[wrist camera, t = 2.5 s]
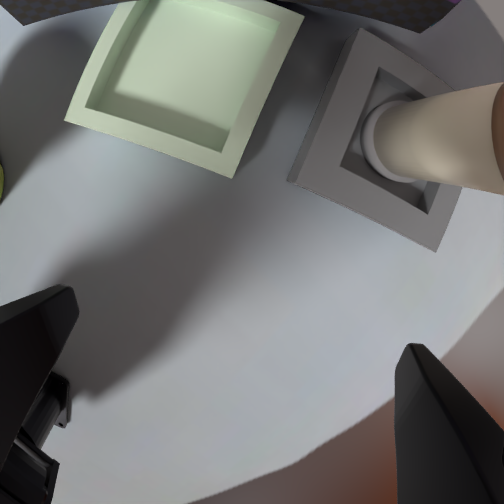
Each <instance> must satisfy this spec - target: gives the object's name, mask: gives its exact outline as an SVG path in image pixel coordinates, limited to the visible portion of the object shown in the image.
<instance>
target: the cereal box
mask: <svg viewBox="0 0 504 504" xmlns="http://www.w3.org/2000/svg"><path fill="white" fill-rule="evenodd" d="M130 1H138V0H0V5H1V6H2V7H3V8H4V9H6V10H7V11H8V12H9V13H10V14H11V15H12V16H13V17H14V18H15V19H17V20H18V21H19V22H20V23H21V24H22V25H23V26H25V25H28V24H31V23H34V22H37V21H41V20H44V19H48V18H51V17H55V16H58V15H62V14H66V13H70V12H75V11H79V10H83V9H88V8H93V7H98V6H104V5H110V4H116V3H123V2H130ZM279 1H287V2H295V3H302V4H308V5H314V6H319V7H325V8H330V9H335V10H340V11H344V12H348V13H353V14H357V15H361V16H365V17H368V18H372V19H376V20H379V21H383V22H386V23H389V24H393V25H396V26H399V27H402V28H405V29H408V30H411V31H414V32H416V33H419V34H420V33H422V32H423V31H424V30H426V29H427V28H429V27H430V26H432V25H434V24H435V23H437V22H438V21H439V20H441V19H442V18H443V17H444V16H445V15H446V14H447V13H448V12H449V11H451V10H452V9H453V8H454V7H455V6H456V5H457V4H458V3H459V2H460V1H461V0H279Z"/></svg>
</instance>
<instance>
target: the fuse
mask: <svg viewBox="0 0 504 504" xmlns="http://www.w3.org/2000/svg"><path fill="white" fill-rule="evenodd" d="M360 145H361V150H362V153H363V156H364V158H365V160H366V162H367V163H368V165H369V166H370V168H371V169H372V170H373V171H374V172H375V173H377V174H378V175H379V176H381V177H383V178H385V179H388V180H392V181H398V182H404V183H409V182H414V181H417V180H425V181H432V182H438V183H443V184H449V185H455V186H460V187H466V188H471V189H476V190H481V191H486V192H491V193H495V194H500V195H504V82H500V83H495V84H489V85H484V86H478V87H473V88H468V89H464V90H459V91H454V92H450V93H445V94H441V95H436V96H432V97H428V98H424V99H420V100H416V101H412V102H406V101H392V102H388V103H385V104H382V105H379V106H377V107H375V108H374V109H372V110H371V111H370V112H369V113H368V114H367V116H366V117H365V119H364V121H363V123H362V127H361V131H360Z"/></svg>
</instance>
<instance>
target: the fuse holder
mask: <svg viewBox="0 0 504 504" xmlns="http://www.w3.org/2000/svg"><path fill="white" fill-rule="evenodd" d="M454 91H455V90H454V89H452V88H451V87H450V86H449V85H447V84H446V83H445V82H443V81H442V80H441V79H439V78H438V77H437V76H435V75H434V74H433V73H431V72H430V71H429V70H427V69H426V68H424V67H423V66H422V65H420V64H419V63H417V62H416V61H414V60H413V59H411V58H410V57H409V56H407V55H405V54H404V53H402V52H401V51H399V50H398V49H396V48H395V47H393V46H391V45H390V44H388V43H387V42H385V41H383V40H382V39H380V38H378V37H376V36H375V35H373V34H371V33H369V32H368V31H366V30H364V29H362V28H359V29H358V30H357V31H356V32H355V33H353V34H352V35H351V36H350V37H349V38H348V39H347V40H346V41H345V43H344V46H343V48H342V51H341V53H340V55H339V58H338V60H337V63H336V65H335V67H334V70H333V72H332V74H331V77H330V79H329V82H328V84H327V86H326V89H325V91H324V93H323V96H322V98H321V100H320V103H319V105H318V108H317V110H316V112H315V115H314V117H313V119H312V122H311V124H310V127H309V129H308V131H307V134H306V136H305V138H304V141H303V143H302V145H301V148H300V150H299V152H298V155H297V157H296V160H295V162H294V164H293V167H292V169H291V171H290V174H289V176H288V178H287V181H288V182H291V183H293V184H295V185H298V186H300V187H302V188H304V189H307V190H309V191H311V192H313V193H316V194H318V195H320V196H322V197H324V198H327V199H329V200H331V201H333V202H335V203H337V204H340V205H342V206H344V207H346V208H348V209H350V210H352V211H354V212H356V213H358V214H361V215H363V216H365V217H367V218H369V219H371V220H373V221H375V222H377V223H379V224H381V225H383V226H385V227H387V228H389V229H391V230H393V231H395V232H397V233H398V234H400V235H402V236H404V237H406V238H408V239H410V240H412V241H414V242H416V243H418V244H420V245H422V246H424V247H426V248H428V249H430V250H432V251H433V252H435V253H436V251H437V249H438V247H439V245H440V242H441V240H442V238H443V235H444V233H445V231H446V228H447V226H448V223H449V221H450V219H451V216H452V214H453V211H454V208H455V206H456V203H457V201H458V198H459V195H460V193H461V190H462V187H460V186H455V185H449V184H443V183H438V182H432V181H425V180H417V181H414V182H409V183H404V182H398V181H392V180H388V179H385V178H383V177H381V176H379V175H378V174H377V173H375V172H374V171H373V170H372V169H371V168H370V166H369V165H368V163H367V162H366V160H365V158H364V156H363V153H362V150H361V145H360V131H361V127H362V123H363V121H364V119H365V117H366V116H367V114H368V113H369V112H370V111H371V110H372V109H374V108H375V107H377V106H379V105H382V104H385V103H388V102H392V101H406V102H412V101H416V100H420V99H424V98H428V97H432V96H436V95H441V94H445V93H450V92H454Z"/></svg>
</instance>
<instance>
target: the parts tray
mask: <svg viewBox="0 0 504 504" xmlns="http://www.w3.org/2000/svg"><path fill="white" fill-rule="evenodd" d="M304 17H305V16H303V15H300V14H298V13H296V12H293V11H291V10H288V9H286V8H283V7H281V6H278V5H275V4H273V3H270V2H267V1H264V0H138V1H130V2H123V3H119V4H118V6H117V8H116V9H115V11H114V13H113V14H112V16H111V18H110V20H109V22H108V23H107V25H106V27H105V29H104V31H103V33H102V35H101V36H100V38H99V40H98V42H97V44H96V46H95V48H94V50H93V52H92V55H91V57H90V59H89V61H88V63H87V65H86V67H85V70H84V72H83V74H82V76H81V79H80V81H79V83H78V86H77V88H76V91H75V93H74V96H73V98H72V101H71V103H70V106H69V108H68V111H67V114H66V117H65V119H64V121H67V122H70V123H74V124H77V125H80V126H83V127H87V128H90V129H93V130H96V131H99V132H102V133H106V134H109V135H112V136H115V137H118V138H121V139H124V140H127V141H130V142H133V143H136V144H139V145H142V146H144V147H147V148H150V149H153V150H156V151H159V152H162V153H164V154H167V155H170V156H173V157H176V158H178V159H181V160H184V161H186V162H189V163H192V164H195V165H197V166H200V167H203V168H205V169H208V170H210V171H213V172H216V173H218V174H221V175H223V176H226V177H229V178H231V179H232V178H233V176H234V174H235V171H236V169H237V166H238V164H239V161H240V159H241V157H242V154H243V152H244V150H245V147H246V145H247V142H248V140H249V138H250V135H251V133H252V131H253V128H254V126H255V124H256V122H257V119H258V117H259V115H260V112H261V110H262V108H263V106H264V103H265V101H266V99H267V96H268V94H269V92H270V90H271V88H272V85H273V83H274V81H275V79H276V77H277V74H278V72H279V70H280V68H281V66H282V63H283V61H284V59H285V57H286V55H287V53H288V51H289V48H290V46H291V44H292V42H293V40H294V38H295V36H296V34H297V32H298V29H299V27H300V25H301V23H302V21H303V19H304Z"/></svg>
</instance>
